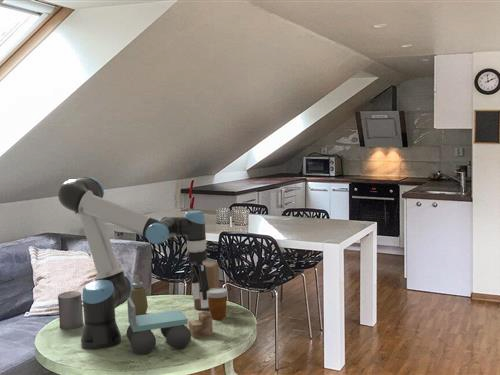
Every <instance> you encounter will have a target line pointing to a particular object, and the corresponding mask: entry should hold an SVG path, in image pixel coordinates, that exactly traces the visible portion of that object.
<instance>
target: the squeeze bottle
mask: <svg viewBox="0 0 500 375" xmlns="http://www.w3.org/2000/svg"><path fill="white" fill-rule="evenodd" d="M139 276H140V275H138V274H135V277H134V282H133V283H132V282H131V283H132V293H131V295H130V297H129V298H131V300H132V302H133V304H134V305H135V311H136V316H137V315H144V314H147V311H148V308H149V306H148V305H149V304H148V299H147V298H148V297H147V293H146V288H145V287H144V283H143V282H141V280H140V277H139ZM131 310H132V309H131Z"/></svg>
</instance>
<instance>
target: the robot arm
mask: <svg viewBox="0 0 500 375" xmlns="http://www.w3.org/2000/svg"><path fill="white" fill-rule="evenodd" d="M104 195H105V189H104V186H103V184H102V183H101V182H100V181H99V180H98V179H96V178H94V177H89V176H83V177H79V178H78V177H77V178H75V179H68V180H66V181H64V182H63V183H62V184H61V185H60V186H59V189H58V193H57V197H58V200H59V201H58V202H59V203H60V204H61V205H62V207H64V208H66V209H68V210H69V211H72V212H74V214H75V215H76V216H78V217H79V218H80V221H81V224H82V227H83V230H84V235H85V237H86V241H87V244H88V247H89V251H90V254H91V257H92V260H93V264H94V267H95V270H96V275H95V277H94V281H90V282H88V283H86V284H85V285H84V287H83V288H82V294H81V298H82V309H83V323H84V326H83V330H82V335H81V339H80V346H81V348H83V349H86V350H93V351H94V350H103V349H108V348H109V349H110V348H113V347H115V346H117V345H120V343H121V342H122V334H121V331H120V329H119V327H118V325H117V324H118V323H117V322H116V321H117V320H116V308H118V307H119V306H121V305H124V303H127V298H130V295H131V293H132V288H133V287H132V281H131V279H130V278H129V277H128V276H126V275H125V273H124V270H123V269H122V268H120V267H119V266H118V262H117V259H116V257H115V253H114V249H113V246H112V243H111V239H110V236H109V232H108V229H107V227H106V226H107V225H106V223H105V222H107V223H109V224H111V225H115V226H116V227H120V228H122V229H125V230H127V231H129V232H131V233H135V234H137V235H140V236H142V237H144V238H146V239H147V241H148V242H149V243H151V244H153V245H159V244H162V243H164V242H166V241H167V240H169V239H171V238H173V237H184V236H185V237H186V249H187V260H188V262H190V276H189V281H191V289H192V290H191V291H192V300H193V301H194V300H195V299H200V296H201V308H208V290H209V286H208V281H207V275H206V268H205V267H206V266H205V265H203V263H202V262H205V261H207V259H208V251H207V250H206V249H207V244H208V240H207V239H206V237H207V236H206V221H205V214H204V212H203V211H202V210H190V211H186V212H184V216H170V217H169V216H168V217H167V216H164V217H163V216H162V217H159V218H152V217H151V216H149V215H146V214H143V213H141V212H138V211H136V210H134V209H133V210H132V209H131V208H127V207H125V206H122V205H120V204H117V203H115V202H112V201H109V200H108V199H105V198H104ZM197 282H199V283H197ZM199 284H200V289H201V290H199ZM204 287H205V288H204ZM199 292H200V294H199Z"/></svg>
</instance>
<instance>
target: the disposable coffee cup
mask: <svg viewBox="0 0 500 375" xmlns="http://www.w3.org/2000/svg"><path fill="white" fill-rule="evenodd" d="M228 295H229V292H228V290H227V288H224V287H219V288H213V289H209V290H208V304H209V309H208V310H209V313H210V314H211V315H212V321H213V320H214V321H219V320H224V319H225V318H226V316H227V315H226V314H227V303H228V302H227V301H228V300H227V299H228Z"/></svg>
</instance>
